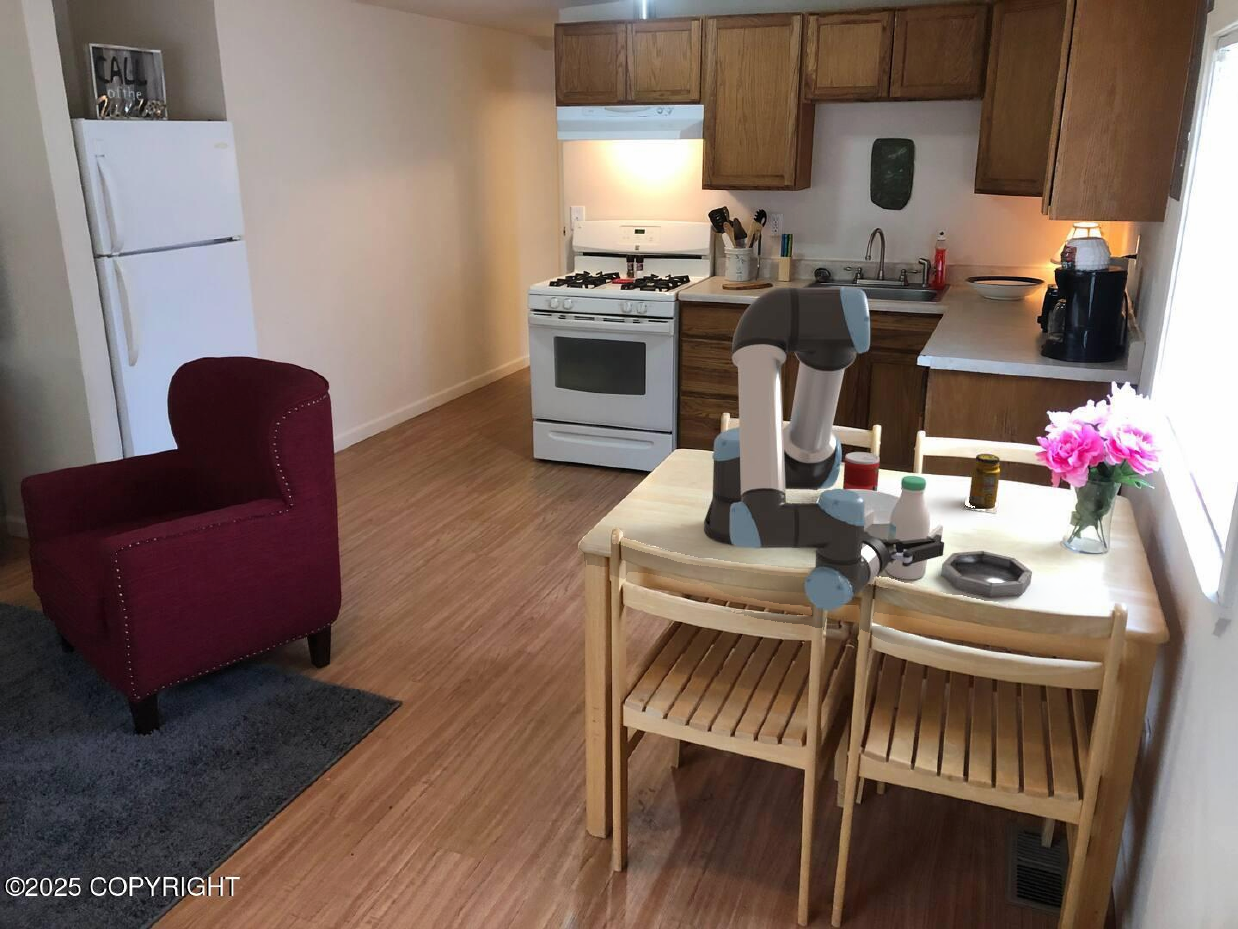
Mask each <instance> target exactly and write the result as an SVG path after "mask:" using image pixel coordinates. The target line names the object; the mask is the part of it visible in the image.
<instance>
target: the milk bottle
mask: <svg viewBox="0 0 1238 929" xmlns="http://www.w3.org/2000/svg"><path fill="white" fill-rule="evenodd" d="M900 481H901V483H900V485H901V487H900V490H901V493H900V496H899V500H898V502H897V503H896V505H895V507H894V509H893V511H892V514H891V518H890V525H889V535H888V540H893V539H899V540H900V541H907V540H916V539H926V538H927V535H928V534H929V533H930V532H931V530H930V529H931V528H930V526H931V517H930V516H931V515H930V512H929V509H928V506H927V504H926V501H925V500H926V499H925V492H926V486H927V480H926V478H923V477H921V476H919V475H918V476H916V475H906V476H903V477H902V478H901V480H900ZM893 546H894V547H895V546H896V545H893ZM927 562H928V560H924V561H920V562H916V563H913V564H911V565H910V566H908V567H905V566H902V561H899V560H894V561H891V562H889V563H888V565H887V566H886V568H885V570H886V573H887V574H889V575H890V576H892V577H894V578H898V579H900V580H901V579H902V580H907V581H909V580H910V581H912V580H918V579H921V578H923V577H924V576H925V574H926V571H927V570H926V569H927Z"/></svg>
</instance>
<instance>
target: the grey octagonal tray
mask: <svg viewBox="0 0 1238 929" xmlns="http://www.w3.org/2000/svg"><path fill="white" fill-rule="evenodd" d="M940 573H941V574H940V576H941V577H942V578H943V579H944V580H946V581H947V582H948V583H949V584H950V585H951V586H952V588H954V589H955V590H956V591H957V590H958V591H961V592H966V593H969V594H973V595H977V596H981V597H983V598H989V599H994V598H1005V597H1007V598H1008V597H1020V596H1022V595H1023V594H1024V593H1025V591H1026V590H1027V589H1028V587H1029V586H1030V585H1031V583H1032V576H1033V571H1032V570H1030V569H1029V568H1028V567H1027V566H1025V565H1024V564H1023V563H1022V562H1020V561H1019V560H1018V559H1016V558H1015V557H1010V556H1007V555H1002V554H997V553H993V552H988V551H984V550H977V551H965V552H964V551H962V552H953V553H952V554H950V555H949V556H948V558H947V559H945V561H944V562H942V564H941V572H940Z"/></svg>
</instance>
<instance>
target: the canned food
mask: <svg viewBox="0 0 1238 929" xmlns="http://www.w3.org/2000/svg"><path fill="white" fill-rule="evenodd" d="M879 472H880V456H878V455H876V454H875V453H871V452H867V451H866V452H864V451H854V452H849V453H847V454H845V457H844V468H843V481H842V482H843V484H842V485H843V486H842V489H863V490H873V491H878V486H879V483H878V482H879V474H880V473H879Z"/></svg>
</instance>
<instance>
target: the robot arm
mask: <svg viewBox="0 0 1238 929" xmlns="http://www.w3.org/2000/svg"><path fill="white" fill-rule="evenodd" d="M870 318H871V317H870V308H869V302H868V297H867V295H866V292H865V291H863V289H861V288H857V287H845V286H840V287H839V286H838V287H787V286H786V287H777V288H774V289H771V290H768V291H766V292H764V293H763V294H761V295H760V296H758V297H757V298H756V299H755V300H754V301H753V302H751V303H750V304H749V306H748V307H747V308H746V310H745V311H744V312H743V314H742V316H740V319H739V321H738V324H737V326H736V328H735V331H734V334H733V339H732V344H731V345H732V346H731V360H732V363H733V365H734V366H736V367H737V369H738V370H737V372H738V373H737V374H738V376H737V379H738V383H737V384H738V420H739V421H738V422H739V423H738V424H739V425H738V427H733V428H730V429H727V430H725V431H723V432H721V433H719V434H718V435H717V436H716V438H715V439H714V442H713V453H712V460H713V466H712V468H713V469H712V470H713V472H712V499H711V502H710V503H709V506H708V509H707V512H706V515H705V517H704V521H703V533H704V534H705V535H706V536H707V537H708V538H710V539H711V540H714V541H715V542H718V543H724V544H729V545H733V546H735V547H738V548H750V549H751V548H753V549H756V550H757V549H758V550H759V549H785V548H787V549H789V548H791V549H815V564H814V565H815V566H814V568H813V569H812V570H811V571H810V572H809V574H808V575H807V577H806V579H805V581H804V591H805V594H806V597H807V598H808V600H809V601H810V602H811V604H812V605H814V606H815V607H816V608H818V609H821V610H823V611H829V612H830V611H831V612H832V611H835V610H838V609H840V608H841V607H843V606H845V605H847V604H848V603H850V602H851V601H852V599H853V598H855V597H856V595H857V594H859V593H860V591H862V590H863V589H864V588H865V587H866V586H867V585H869V583H870V582H871V581H873V580H874V579H875V578H876V577H878V575H880V574H881V573H882V572H883V571H884V570H886V566H887V565H888V563H889V562H891V561H894V560H899V561H902V566H905V567H908V566H910V565H911V564H913V563H916V562H920V561H924V560H927V561H928V560H931V559H935V558H940V557H942V556H944V550H945V542H944V541H942V539H943V528H944V525H942V524H938V525H937V526H936V527H935V528H933V530H930V532H929V534H928V535H927V538H926V539H916V540H907V541H900V540H899V539H893V540H886V539H879V538H876V537H873V536H870V535H869V534H868V532H865V531H864V530H865V529H866V528H868V527H869V526H870V525H872V524H873V523H874V512H875V510H872V509H871V510H870V511H868V512H867V513H866V514H865V501H864V499H863V497H862V496H861V495H860V494H858V493H856V492H854V491H851V490H847V489H843V488H833V489H830V488H832V487H833V486H834V485H835V484H836V482H837V480H838V478H839V475H840V472H841V471H840V470H841V464H842V457H843V456H842V446H841V445H842V444H841V441H840V439H839V438H838V436H836V435H835V434H834V432H833V431H832V430H833V424H834V420H835V416H836V411H837V406H838V402H839V398H840V392H841V388H842V383H843V378H844V374H845V369H847V368H848V367H850V366H851V365H852V364H853V363H854V361H855V359H856V357H857V354H863V353H866V352H868V351H869V349H870V345H871V322H870V321H871V320H870ZM787 353H794V355H795V356H796V358H797V360H798V361H799V366H798V372H797V378H796V385H795V391H794V396H793V403H792V410H791V415H790V421H789V423H788V424H787V425H786V426H785V427H784V421H783V420H784V418H783V417H784V415H783V414H784V413H783V412H784V411H783V391H782V390H783V389H782V388H783V387H782V386H783V385H782V365H784V363H785V362H786V360H787ZM786 490H807V491H809V490H811V491H818V490H824V491H822V492H821V493H820V495H819V497H818V498H819V500H818V503H816V502H807V503H806V502H805V503H804V502H790V503H789V502H787V498H786V497H787V495H786ZM893 545H896V546H895V547H894V546H893Z"/></svg>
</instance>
